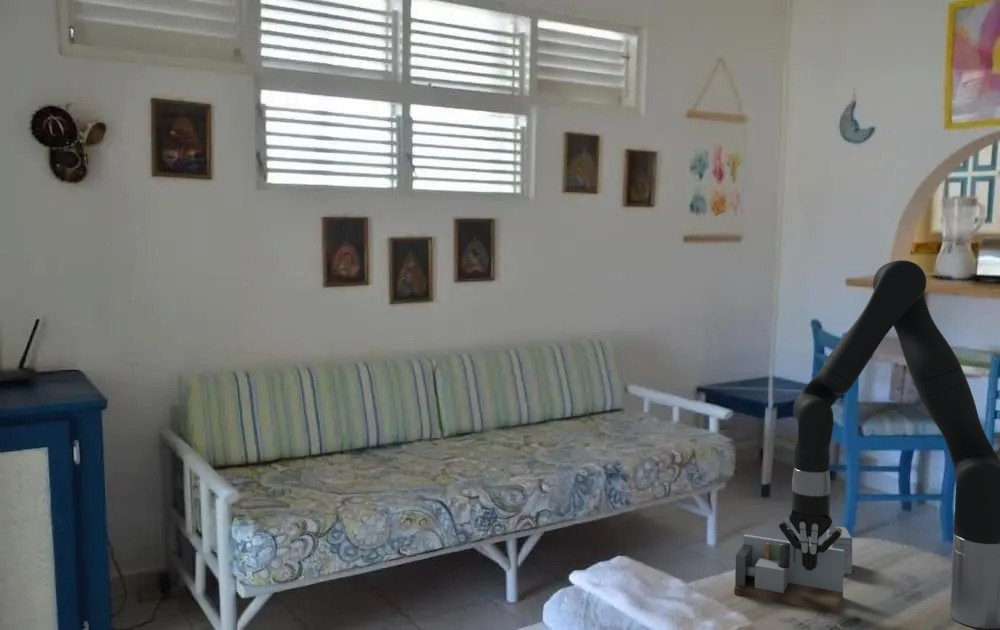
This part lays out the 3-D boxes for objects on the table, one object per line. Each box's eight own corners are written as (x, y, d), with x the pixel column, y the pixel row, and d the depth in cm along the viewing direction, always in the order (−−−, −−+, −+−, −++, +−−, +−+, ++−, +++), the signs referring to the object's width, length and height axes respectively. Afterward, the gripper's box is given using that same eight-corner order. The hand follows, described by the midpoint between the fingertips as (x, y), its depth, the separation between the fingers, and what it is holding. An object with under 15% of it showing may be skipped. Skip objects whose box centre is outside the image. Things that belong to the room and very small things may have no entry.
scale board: (843, 590, 185) (844, 549, 184) (842, 592, 184) (843, 551, 183) (743, 573, 195) (744, 534, 194) (742, 574, 194) (743, 535, 193)
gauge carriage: (791, 584, 188) (792, 540, 187) (786, 593, 183) (787, 548, 182) (751, 576, 192) (751, 533, 191) (745, 586, 187) (746, 541, 186)
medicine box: (852, 575, 197) (853, 538, 196) (831, 573, 198) (832, 537, 197) (845, 562, 205) (846, 526, 204) (825, 561, 206) (826, 525, 205)
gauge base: (842, 597, 185) (843, 590, 185) (837, 613, 177) (837, 606, 177) (743, 579, 195) (743, 573, 195) (734, 594, 187) (734, 587, 187)
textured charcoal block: (751, 576, 193) (752, 545, 192) (744, 587, 187) (745, 556, 186) (742, 574, 194) (743, 544, 193) (735, 585, 188) (735, 554, 187)
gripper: (846, 488, 181) (845, 568, 183) (782, 480, 188) (780, 558, 189) (842, 498, 175) (840, 581, 176) (775, 489, 181) (773, 569, 183)
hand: (809, 569), depth 183 cm, fingers closed
